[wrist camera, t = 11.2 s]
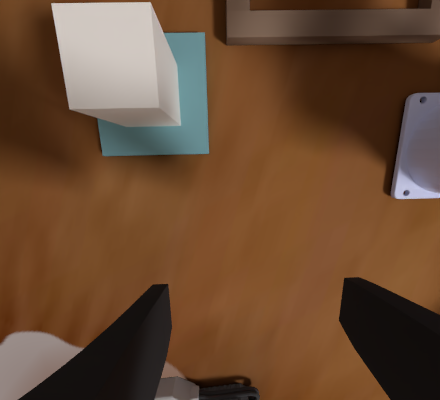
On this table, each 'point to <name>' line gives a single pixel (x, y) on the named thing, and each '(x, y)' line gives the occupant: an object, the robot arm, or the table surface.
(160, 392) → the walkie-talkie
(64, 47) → the cream block
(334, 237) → the table surface
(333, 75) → the table surface
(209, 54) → the table surface
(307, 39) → the brown square frame
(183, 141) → the mat
